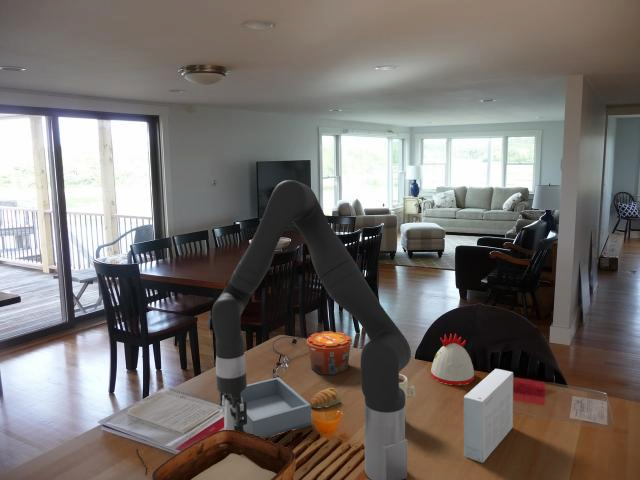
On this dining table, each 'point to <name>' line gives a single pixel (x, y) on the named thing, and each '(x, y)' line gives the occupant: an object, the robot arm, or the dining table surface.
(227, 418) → the skincare box
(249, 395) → the tote
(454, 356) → the chicken hat
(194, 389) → the dining table surface
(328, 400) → the pastry
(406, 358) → the robot arm
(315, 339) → the food container
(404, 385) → the character mug
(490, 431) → the skincare box
